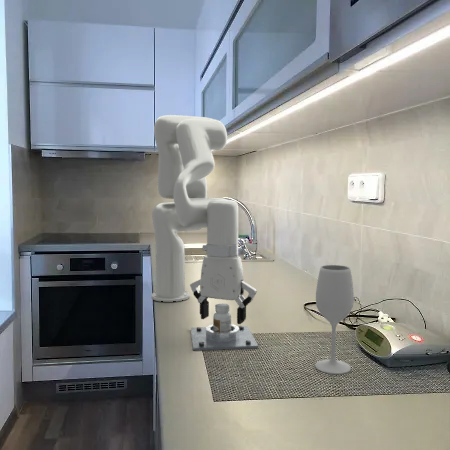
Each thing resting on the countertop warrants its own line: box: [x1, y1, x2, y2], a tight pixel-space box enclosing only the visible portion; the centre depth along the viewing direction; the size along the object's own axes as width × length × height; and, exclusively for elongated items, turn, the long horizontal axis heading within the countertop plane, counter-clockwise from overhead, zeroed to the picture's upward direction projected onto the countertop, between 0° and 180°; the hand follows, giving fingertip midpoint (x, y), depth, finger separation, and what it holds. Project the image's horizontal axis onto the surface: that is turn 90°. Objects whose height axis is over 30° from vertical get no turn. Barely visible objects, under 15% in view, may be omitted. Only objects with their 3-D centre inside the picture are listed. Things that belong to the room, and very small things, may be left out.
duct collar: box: [205, 323, 239, 342], centre depth 114 cm, size 8×8×2 cm
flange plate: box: [190, 325, 259, 351], centre depth 114 cm, size 15×15×1 cm
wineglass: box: [314, 264, 355, 375], centre depth 95 cm, size 8×8×21 cm
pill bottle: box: [212, 303, 232, 332], centre depth 114 cm, size 4×4×8 cm
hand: (222, 320), depth 114 cm, fingers open, 9 cm apart
